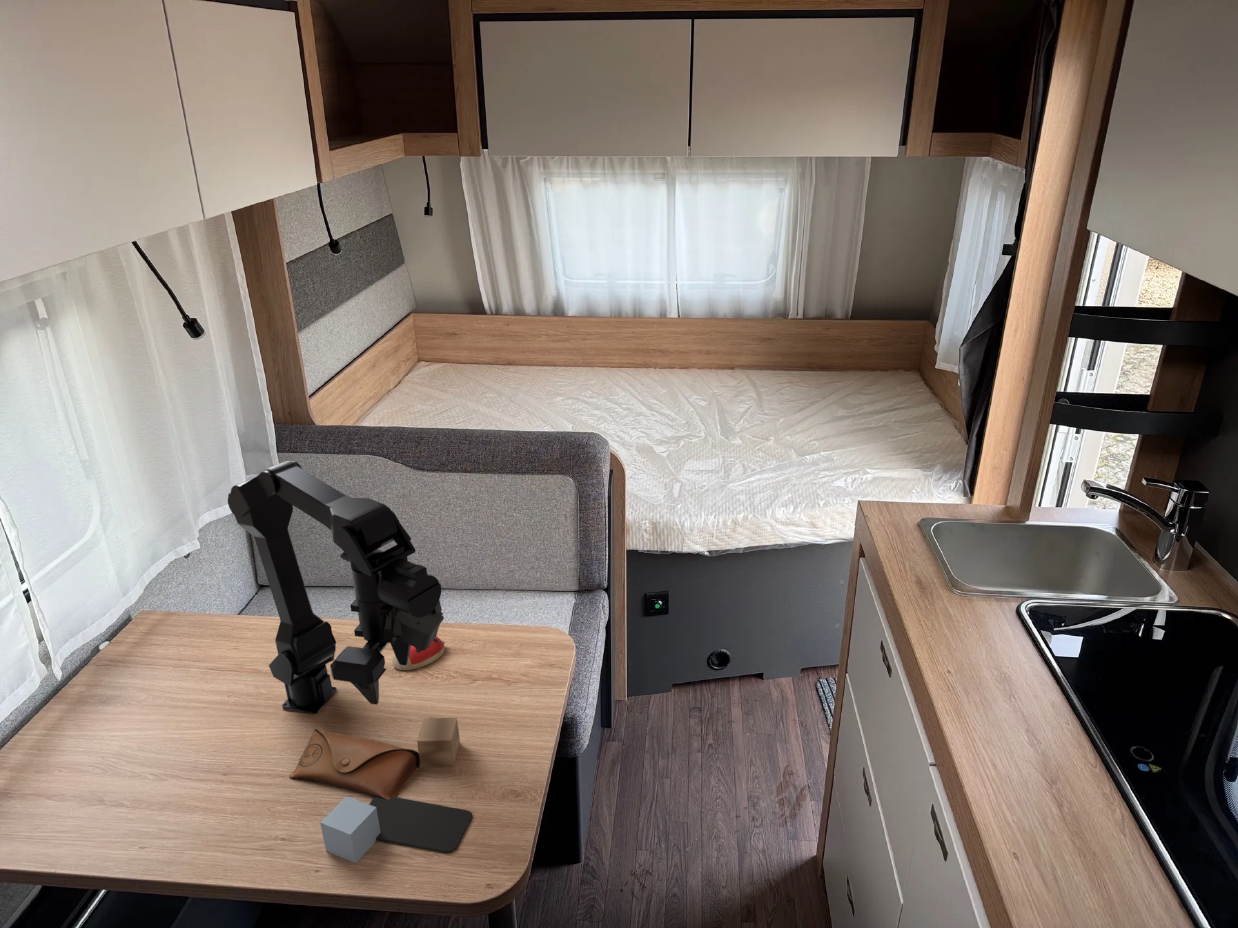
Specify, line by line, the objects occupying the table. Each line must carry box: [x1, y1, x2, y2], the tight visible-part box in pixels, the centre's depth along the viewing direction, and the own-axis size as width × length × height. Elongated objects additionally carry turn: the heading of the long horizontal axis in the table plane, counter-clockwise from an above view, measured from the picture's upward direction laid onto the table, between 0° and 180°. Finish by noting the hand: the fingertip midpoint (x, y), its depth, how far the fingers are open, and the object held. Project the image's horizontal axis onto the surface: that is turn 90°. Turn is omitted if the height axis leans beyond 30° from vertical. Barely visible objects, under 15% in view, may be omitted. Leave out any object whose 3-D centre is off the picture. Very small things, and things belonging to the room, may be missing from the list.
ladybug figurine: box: [391, 635, 446, 671], centre depth 150 cm, size 7×10×4 cm
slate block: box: [319, 796, 381, 864], centre depth 112 cm, size 5×5×5 cm
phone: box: [369, 796, 473, 854], centre depth 116 cm, size 7×1×15 cm
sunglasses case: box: [288, 728, 421, 800], centre depth 125 cm, size 18×7×7 cm
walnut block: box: [416, 717, 461, 768], centre depth 127 cm, size 5×5×5 cm
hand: (389, 683), depth 124 cm, fingers open, 9 cm apart
